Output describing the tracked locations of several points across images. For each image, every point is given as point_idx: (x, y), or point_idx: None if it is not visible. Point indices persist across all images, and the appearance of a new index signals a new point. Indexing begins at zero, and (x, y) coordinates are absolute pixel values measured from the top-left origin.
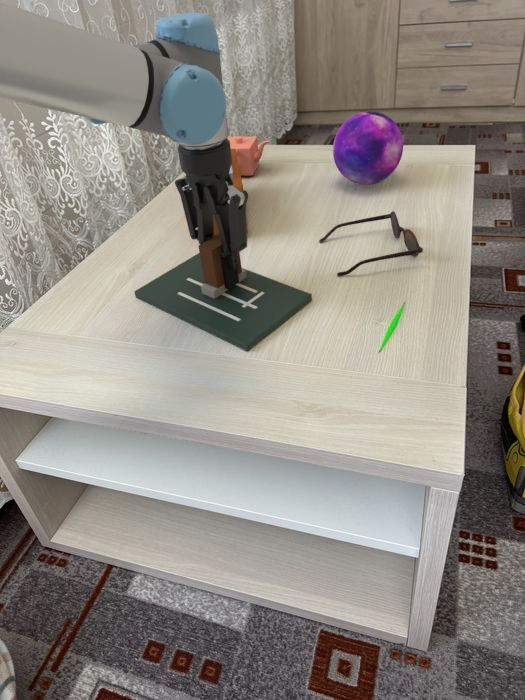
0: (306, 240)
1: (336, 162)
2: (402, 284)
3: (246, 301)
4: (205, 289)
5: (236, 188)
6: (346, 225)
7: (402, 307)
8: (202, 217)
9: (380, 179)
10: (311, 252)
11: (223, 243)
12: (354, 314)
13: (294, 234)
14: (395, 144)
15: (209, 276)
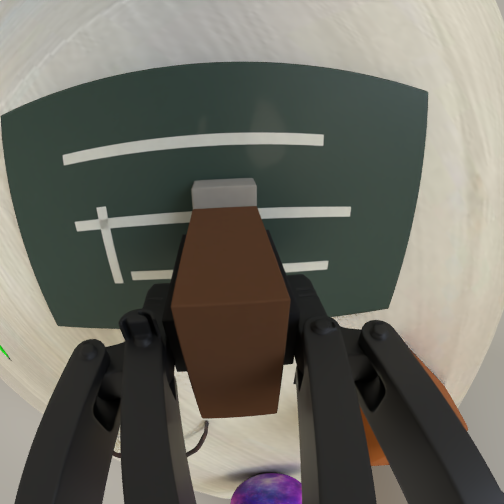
0: (231, 417)
1: (293, 490)
2: (44, 387)
3: (114, 230)
4: (232, 184)
5: (375, 459)
6: (189, 451)
7: (1, 350)
8: (317, 480)
9: (241, 484)
10: (195, 405)
11: (147, 372)
12: (8, 316)
13: (262, 417)
14: None
15: (225, 221)
